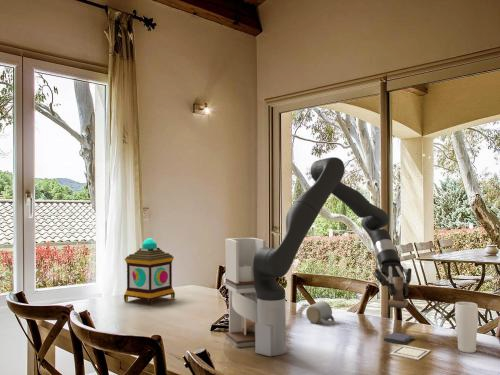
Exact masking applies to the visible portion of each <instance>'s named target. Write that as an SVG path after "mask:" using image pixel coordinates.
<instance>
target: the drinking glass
mask: <svg viewBox="0 0 500 375" xmlns="http://www.w3.org/2000/svg"><path fill="white" fill-rule="evenodd" d="M478 306H479V305H478V303H475V302H470V301H456V302H455V304H454V317H455V319H454V320H455V328H456V329H455V330H456V336H457V338H456V339H457V350H459V352H462V353H466V352H467V353H468V354H472V353H475V352H476V351H477V337H478V327H479V326H478V325H479V324H478V323H479V307H478ZM467 353H466V354H467Z"/></svg>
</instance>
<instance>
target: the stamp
mask: <svg viewBox="0 0 500 375" xmlns="http://www.w3.org/2000/svg"><path fill="white" fill-rule="evenodd" d="M392 284H394V287H395V290H396V295H395V296H392V298H390V299H388V302H387V305H388V308H395V309H401V310H402V309H405V308H407V307H409V300H408V299H405V298H404V294H403V277H392Z"/></svg>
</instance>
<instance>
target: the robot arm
mask: <svg viewBox="0 0 500 375" xmlns="http://www.w3.org/2000/svg"><path fill="white" fill-rule="evenodd" d="M344 174H345V163H344V161H343V160H342V159H341V158H339V157H334V156H333V157H332V156H331V157H326V158H321V159H318V160H315V161H314V162H313V163H312V164H311V165H310V175H311V178H312V179H313V181H314V183H313V185H311V186H310V187H309V188H307V189H306V190H305V191H304V192H302V194H300V195H299V196H298V197H297V198H296V199H295V200H294V202H293V203H292V205H291V207H290V208H289V209H288V211H287V214H286V218H285V234H284V237H283V239H282V241H281V242H280V244H279V246H277V247H276V248H275V247H263V248H260V249H258V250H257V252H256V253H255V256H254V260H253V273H254V287H255V290H256V293H257V323H256V324H255V345H254V346H255V347H254V348H255V350H254V351H255V352H254V353H256V354H258V355H263V356H268V357H273V356H274V357H275V356H281V355H283V354H285V353H286V351H287V348H286V347H287V345H286V344H287V343H286V342H287V340H286V336H287V332H286V330H287V329H286V328H287V327H286V323H287V322H286V317H287V316H286V290H285V288H284V287H283V286H282V285H280V284H279V283H278V281H277V280H276V279H279V278H283V277H284V276H285V275H287V274H288V272H289V271H290V269H291V266H292V264H293V263H294V260H295V258H296V256H297V254H298V252H299V249H300V247H301V245H302V243H303V241H304V240H305V237H306V236H307V234H308V232H309V230H310V229H311V228H312V226H313V224H314V222H316V219H317V217H318V215H319V214H320V212H321V210H322V209H323V207H324V205H325V203H326V202H327V200H328V199H329V198H330V195H331V194H332V195H334V197H336V198H337V199H338V200H340V201H341V202H342V203H343V204H344V205H345V206H347V207H348V209H350V210H351V212H352V213H353V214H355V216H357V218H360V219H361V222H360V224H361V227H362V229H364V231H365V232H366V233H367V235H368V237H369V238H370V241H371V243H372V245H373V248H374V254H375V257H376V259H377V263H378V265H379V268H376V269H375V270H374V273H373V276H374V277H375V278H376V279H377V280H378V282H379V284H380V285H381V286H382V287H385V286H386V287H387V288H388V292H389V294H390V295H391V296H392V297H393V296H395V295H396V290H395V287H394V284H393V281H392V277H403V295H404V296H405V297H406V296H408V294H409V292H410V290H409V288H408V287H409V286H410V283H411V281H412V268H411V267H408V269H407V268H404V266H403V265H402V264H401V260H400V257H399V254H398V252H397V248H396V246H395V244H394V242H393V241H392V238H391V235H390V232H389V230H387V229H385V227H386V226H387V225H389V224H390V217H389V215H388V213H387V212H386V211H385V210H384V209H382V208H380V207H378V206H376V205H375V204H373V203H371V202H370V201H369V200H368V199H367V198H366V197H365V196H364V194H362V193H361V192H360V191H358V190H356V189H355V188H352V187H351V186H348V185H347V184H345V183H343V182H342V180H343V177H344ZM403 273H404V274H403Z"/></svg>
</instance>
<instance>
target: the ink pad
mask: <svg viewBox="0 0 500 375" xmlns="http://www.w3.org/2000/svg"><path fill="white" fill-rule="evenodd" d="M414 338H415V337H414V335H412V334H404V333H399V332H392V333H390V334H389V335H387V336H386V337H383V342H386V343H387V342H388V343H392V342H393V343H394V344H397V345H402V346H403V345H406V344H407V343H409V342H411V341H412V340H414Z"/></svg>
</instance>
